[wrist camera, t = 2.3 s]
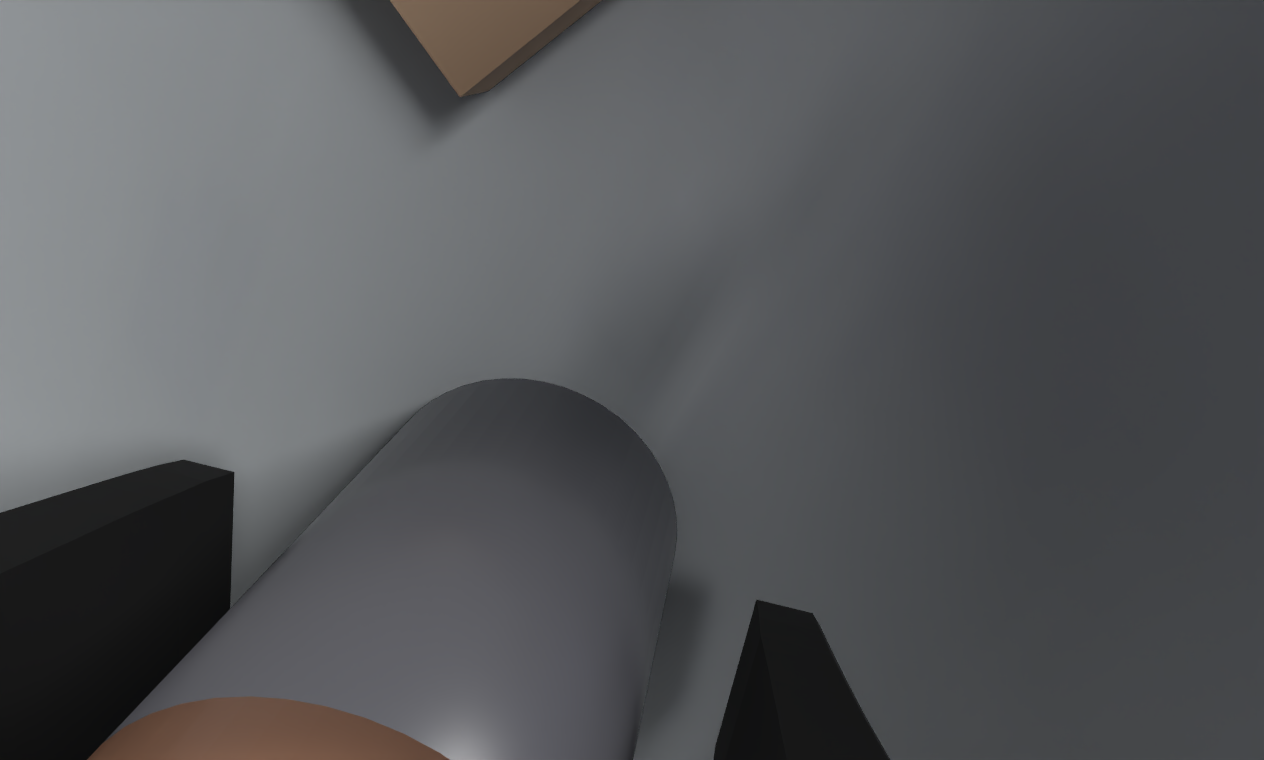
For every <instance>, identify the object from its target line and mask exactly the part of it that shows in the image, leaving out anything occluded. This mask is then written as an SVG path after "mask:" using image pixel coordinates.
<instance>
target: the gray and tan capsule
mask: <svg viewBox="0 0 1264 760" xmlns="http://www.w3.org/2000/svg"><path fill="white" fill-rule="evenodd" d="M676 540H677V520H676V513H675V507H674V501H673V498H672V495H671V492H670V488H669V485H668V482H667V480H666V478H665V476H664V474H663V472H662V470H661V467H660V465H659V464H658V462H657V461H656V459H655V457H654V456H653V454H652V453H651V451H650V450H649V448H648V447H647V446H646V445H645V443H644V442H643V441H642V440H641V439H640V437H639V436H638V435H637V434H636V433H635V432H634V431H633V430H632V429H631V428H630V427H629V426H628V425H627V424H626V423H625V422H623V421H622V420H621V419H620V418H619V417H618V416H616V415H615V414H613V413H612V412H611V411H609V410H608V409H607V408H605V407H604V406H602V405H600V404H599V403H597V402H595V401H593V400H591V399H590V398H588V397H586V396H584V395H582V394H579V393H577V392H574V391H572V390H569V389H567V388H565V387H561V386H557V385H554V384H550V383H546V382H541V381H534V380H527V379H494V380H485V381H480V382H476V383H472V384H468V385H464V386H461V387H459V388H456V389H454V390H451V391H449V392H446V393H445V394H443V395H441V396H439V397H438V398H436V399H434V400H432V401H431V402H429V403H428V404H427V405H426V406H424V407H423V408H422V409H420V410H419V411H418V412H417V413H416V414H415V415H414V416H413V417H412V418H411V419H410V420H409V421H408V422H407V423H406V424H405V425H404V426H403V427H402V428H401V429H400V430H399V431H398V433H397V434H396V435H395V436H394V437H393V438H392V439H391V440H390V441H389V442H388V443H387V444H386V445H385V446H384V447H383V448H382V449H381V450H380V452H379V453H378V454H377V455H376V456H375V457H374V458H373V459H372V460H371V461H370V462H369V463H368V464H367V465H366V466H365V467H364V468H363V469H362V470H361V472H360V473H359V474H358V475H357V476H356V477H355V478H354V479H353V480H352V481H351V482H350V483H349V484H348V485H347V486H346V487H345V488H344V489H343V490H342V492H341V493H340V494H339V495H338V496H337V497H336V498H335V499H334V500H333V501H332V502H331V503H330V504H329V505H328V506H327V507H326V508H325V509H324V511H323V512H322V513H321V514H320V515H319V516H318V517H317V518H316V519H315V520H314V521H313V522H312V523H311V524H310V525H309V526H308V527H307V528H306V529H305V531H304V532H303V533H302V534H301V535H300V536H299V537H298V538H297V539H296V540H295V541H294V542H293V543H292V544H291V545H290V546H289V547H288V548H287V549H286V551H285V552H284V553H283V554H282V555H281V556H280V557H279V558H278V559H277V560H276V561H275V562H274V563H273V564H272V565H271V566H270V567H269V568H268V570H267V571H266V572H265V573H264V574H263V575H262V576H261V577H260V578H259V579H258V580H257V581H256V582H255V583H254V584H253V585H252V586H251V587H250V588H249V590H248V591H247V592H246V593H245V594H244V595H243V596H242V597H241V598H240V599H239V600H238V601H237V602H236V603H235V604H234V605H233V606H232V607H231V608H230V610H229V611H228V612H227V613H226V614H225V615H224V616H223V617H222V618H221V619H220V620H219V621H218V622H217V623H216V624H215V625H214V626H213V627H212V629H211V630H210V631H209V632H208V633H207V634H206V635H205V636H204V637H203V638H202V639H201V640H200V641H199V642H198V643H197V644H196V645H195V646H194V647H193V649H192V650H191V651H190V652H189V653H188V654H187V655H186V656H185V657H184V658H183V659H182V660H181V661H180V662H179V663H178V664H177V665H176V666H175V667H174V669H173V670H172V671H171V672H170V673H169V674H168V675H167V676H166V677H165V678H164V679H163V680H162V681H161V682H160V683H159V684H158V685H157V686H156V688H155V689H154V690H153V691H152V692H151V693H150V694H149V695H148V696H147V697H146V698H145V699H144V700H143V701H142V702H141V703H140V704H139V705H138V706H137V708H136V709H135V710H134V711H133V712H132V713H131V714H130V715H129V716H128V717H127V718H126V719H125V720H124V721H123V722H122V723H121V724H120V725H119V727H118V728H117V729H116V730H115V731H114V732H113V733H112V734H111V735H110V736H109V737H108V738H107V739H106V740H105V741H104V742H103V743H102V744H101V745H100V747H99V748H98V749H97V750H96V751H95V752H94V753H93V754H92V755H91V756H90V757H89V758H88V759H87V760H633V757H634V752H635V747H636V742H637V737H638V732H639V727H640V722H641V718H642V713H643V708H644V703H645V698H646V693H647V688H648V683H649V678H650V673H651V668H652V663H653V658H654V654H655V649H656V644H657V639H658V634H659V629H660V624H661V619H662V614H663V609H664V604H665V599H666V594H667V589H668V585H669V580H670V575H671V570H672V565H673V560H674V555H675V547H676Z"/></svg>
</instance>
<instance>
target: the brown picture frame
mask: <svg viewBox="0 0 1264 760" xmlns="http://www.w3.org/2000/svg"><path fill="white" fill-rule="evenodd" d="M390 1H391V3H392V4H393V6H394V7H395V8H396V10H397V11H398V12H399V14H400V15H401V17H402V18H403V19H404V21H405V22H406V24H407V25H408V26H409V28H410V29H411V30H412V32H413V33H414V35H415V36H416V37H417V39H418V40H419V41H420V43H421V44H422V46H423V47H424V48H425V50H426V51H427V53H428V54H429V55H430V57H431V58H432V59H433V61H434V62H435V64H436V65H437V66H438V68H439V69H440V71H441V72H442V73H443V75H444V76H445V77H446V79H447V80H448V82H449V83H450V84H451V86H452V87H453V89H454V90H455V91H456V93H457V94H458V95H459V97H463V96H468V95H473V94H477V93H482V92H487V91H489V90H490V89H492V88H493V87H494V86H495V85H497V84H498V83H499V82H500V81H502V80H503V79H504V78H505V77H507V76H508V75H509V74H510V73H512V72H513V71H514V70H515V69H517V68H518V67H519V66H520V65H522V64H523V63H524V62H525V61H527V60H528V59H529V58H530V57H532V56H533V55H534V54H535V53H537V52H538V51H539V50H540V49H542V48H543V47H544V46H545V45H547V44H548V43H549V42H550V41H552V40H553V39H554V38H555V37H557V36H558V35H559V34H560V33H562V32H563V31H564V30H565V29H567V28H568V27H569V26H570V25H572V24H573V23H574V22H575V21H577V20H578V19H579V18H581V17H582V16H583V15H584V14H586V13H587V12H588V11H589V10H591V9H592V8H593V7H594V6H596V5H597V4H598V3H599V2H601V1H602V0H390Z"/></svg>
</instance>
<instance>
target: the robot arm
mask: <svg viewBox="0 0 1264 760" xmlns="http://www.w3.org/2000/svg"><path fill="white" fill-rule="evenodd" d="M233 497H234V472H232V471H227V470H223V469H219V468H215V467H211V466H207V465H203V464H199V463H195V462H191V461H187V460H180V461H176V462H171V463H166V464H162V465H158V466H154V467H150V468H146V469H143V470H139V471H136V472H132V473H129V474H125V475H122V476H119V477H115V478H112V479H109V480H105V481H102V482H99V483H96V484H92V485H89V486H86V487H83V488H80V489H76V490H73V491H70V492H67V493H63V494H60V495H57V496H54V497H50V498H47V499H44V500H41V501H37V502H34V503H31V504H28V505H24V506H21V507H18V508H15V509H12V510H8V511H5V512H2V513H0V760H87V759H88V758H89V757H90V756H91V755H92V754H93V753H94V752H95V751H96V750H97V749H98V748H99V747H100V745H101V744H102V743H103V742H104V741H105V740H106V739H107V738H108V737H109V736H110V735H111V734H112V733H113V732H114V731H115V730H116V729H117V728H118V727H119V725H120V724H121V723H122V722H123V721H124V720H125V719H126V718H127V717H128V716H129V715H130V714H131V713H132V712H133V711H134V710H135V709H136V708H137V706H138V705H139V704H140V703H141V702H142V701H143V700H144V699H145V698H146V697H147V696H148V695H149V694H150V693H151V692H152V691H153V690H154V689H155V688H156V686H157V685H158V684H159V683H160V682H161V681H162V680H163V679H164V678H165V677H166V676H167V675H168V674H169V673H170V672H171V671H172V670H173V669H174V667H175V666H176V665H177V664H178V663H179V662H180V661H181V660H182V659H183V658H184V657H185V656H186V655H187V654H188V653H189V652H190V651H191V650H192V649H193V647H194V646H195V645H196V644H197V643H198V642H199V641H200V640H201V639H202V638H203V637H204V636H205V635H206V634H207V633H208V632H209V631H210V630H211V629H212V627H213V626H214V625H215V624H216V623H217V622H218V621H219V620H220V619H221V618H222V617H223V616H224V615H225V614H226V613H227V612H228V611H229V610H230V593H231V561H232V529H233ZM714 760H890V759H889V757H888V755H887V754H886V752H885V750H884V748H883V747H882V745H881V743H880V741H879V740H878V738H877V736H876V734H875V733H874V731H873V729H872V727H871V726H870V724H869V722H868V720H867V718H866V717H865V715H864V713H863V711H862V709H861V707H860V705H859V704H858V702H857V700H856V698H855V696H854V694H853V692H852V690H851V688H850V686H849V684H848V682H847V680H846V678H845V676H844V674H843V672H842V670H841V668H840V666H839V664H838V662H837V660H836V658H835V656H834V654H833V652H832V650H831V648H830V646H829V644H828V642H827V640H826V638H825V635H824V633H823V631H822V629H821V627H820V625H819V623H818V622H817V620H816V618H815V617H814V615H813V613H809V612H805V611H801V610H797V609H793V608H789V607H784V606H780V605H776V604H772V603H768V602H764V601H760V600H756V604H755V607H754V611H753V614H752V618H751V621H750V625H749V628H748V632H747V636H746V639H745V643H744V646H743V650H742V653H741V657H740V661H739V664H738V668H737V671H736V675H735V678H734V682H733V685H732V689H731V693H730V696H729V700H728V703H727V707H726V710H725V714H724V718H723V721H722V725H721V728H720V732H719V735H718V739H717V742H716V746H715V753H714Z"/></svg>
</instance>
